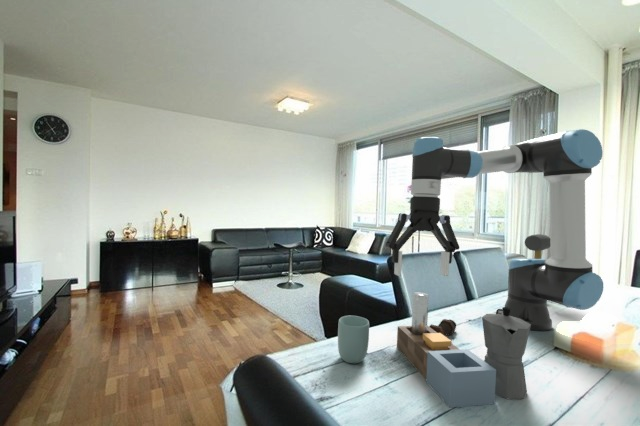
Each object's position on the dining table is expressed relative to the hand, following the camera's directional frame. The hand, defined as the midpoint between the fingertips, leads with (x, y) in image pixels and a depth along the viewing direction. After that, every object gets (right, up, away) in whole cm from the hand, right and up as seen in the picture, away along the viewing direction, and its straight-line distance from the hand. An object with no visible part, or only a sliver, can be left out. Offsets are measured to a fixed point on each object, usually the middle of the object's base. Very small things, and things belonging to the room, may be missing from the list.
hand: (421, 275), depth 83 cm
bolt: (+11, -22, +12) cm, 27 cm away
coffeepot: (+14, -22, -14) cm, 29 cm away
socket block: (0, -21, -4) cm, 22 cm away
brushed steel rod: (-1, -21, 0) cm, 21 cm away
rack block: (+2, -22, -17) cm, 28 cm away
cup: (-19, -21, -5) cm, 29 cm away
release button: (+1, -20, -8) cm, 22 cm away
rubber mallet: (+71, -23, +58) cm, 95 cm away
